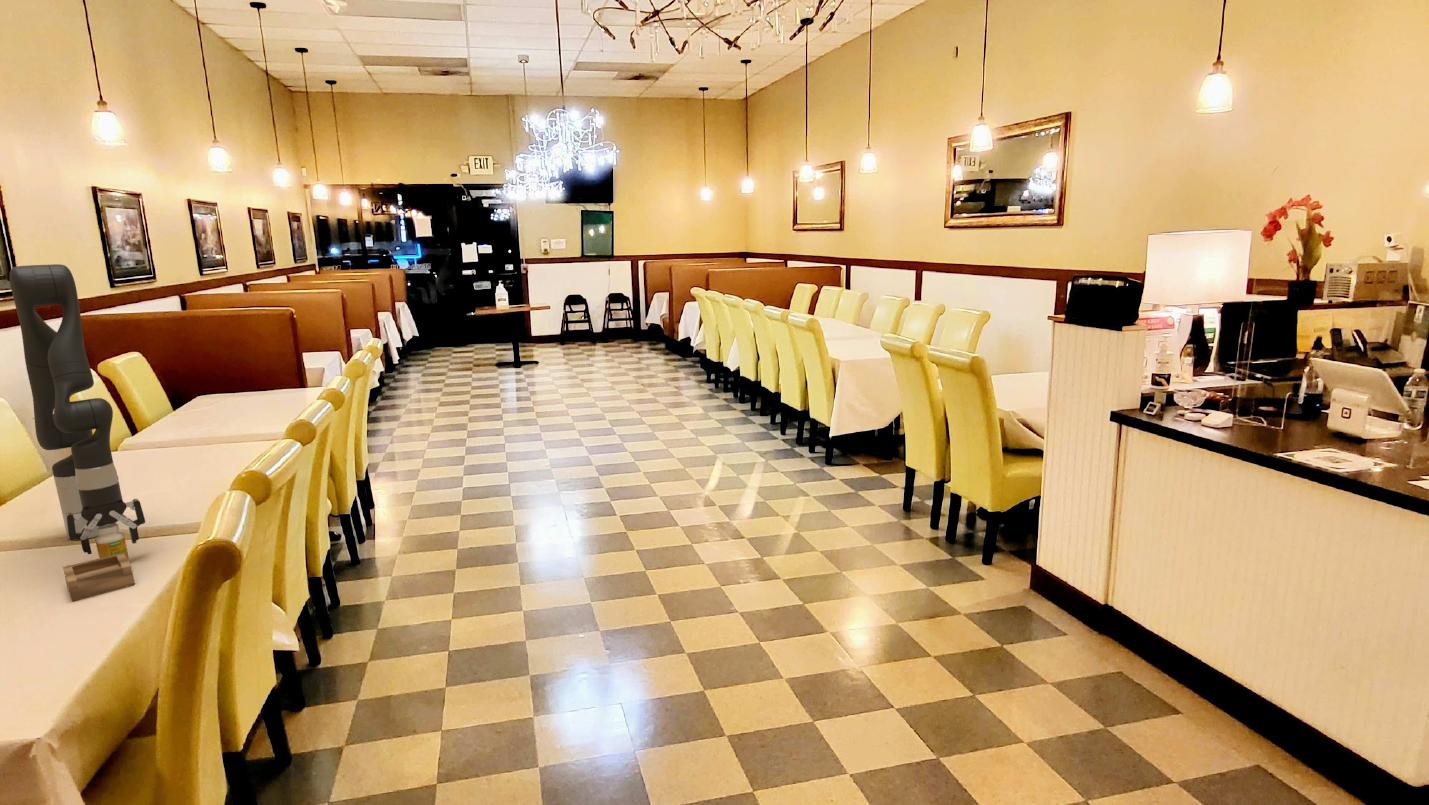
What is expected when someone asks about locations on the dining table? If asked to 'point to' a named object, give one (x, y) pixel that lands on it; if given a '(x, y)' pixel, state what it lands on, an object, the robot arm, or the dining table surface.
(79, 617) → the dining table surface
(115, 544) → the supplement bottle
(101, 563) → the wooden open box
